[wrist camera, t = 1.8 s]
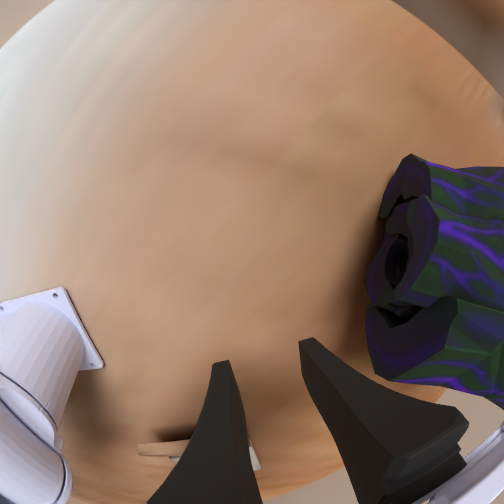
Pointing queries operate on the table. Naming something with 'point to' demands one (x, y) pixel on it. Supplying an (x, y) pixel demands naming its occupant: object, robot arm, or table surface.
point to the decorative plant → (440, 280)
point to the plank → (164, 448)
